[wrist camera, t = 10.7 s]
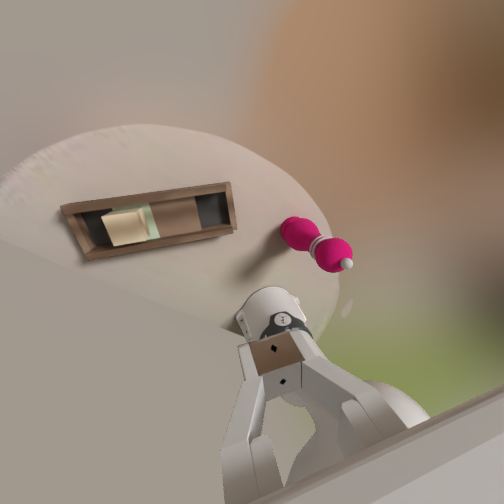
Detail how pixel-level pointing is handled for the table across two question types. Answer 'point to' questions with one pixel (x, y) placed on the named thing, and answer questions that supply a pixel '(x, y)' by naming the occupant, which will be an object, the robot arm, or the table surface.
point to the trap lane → (156, 218)
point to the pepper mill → (317, 244)
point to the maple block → (126, 226)
